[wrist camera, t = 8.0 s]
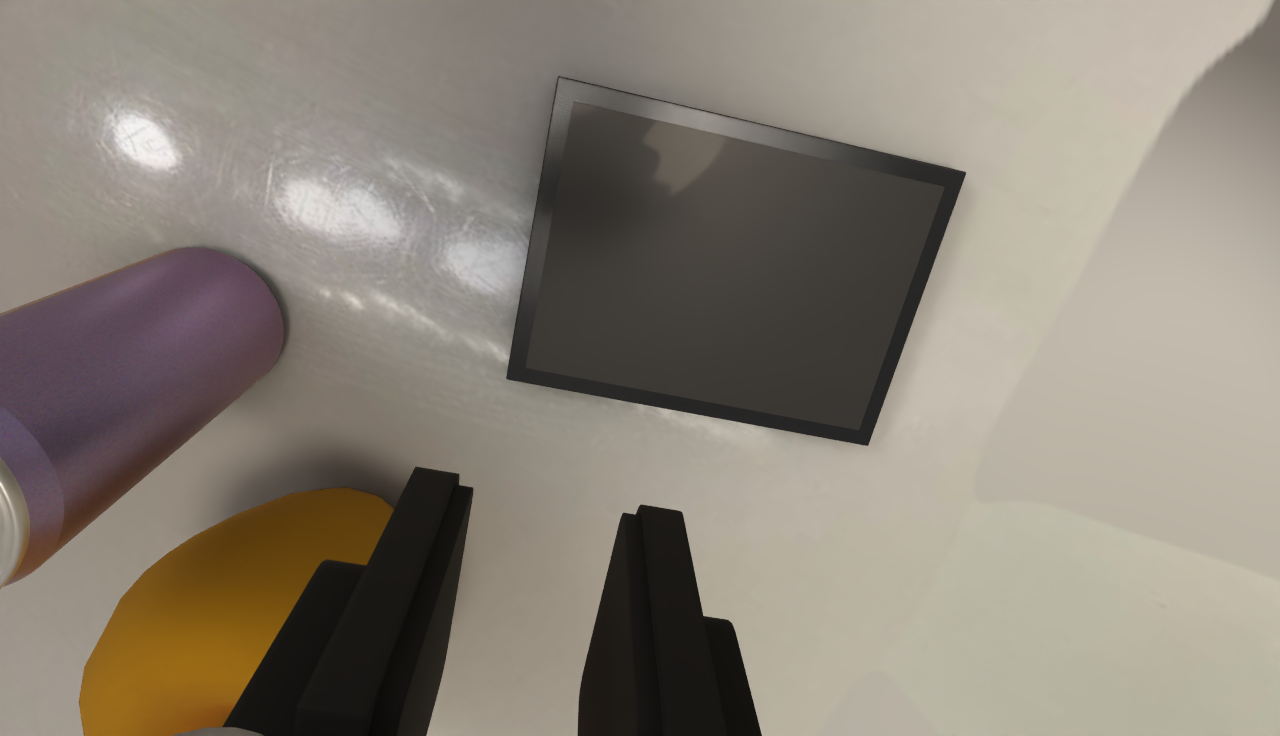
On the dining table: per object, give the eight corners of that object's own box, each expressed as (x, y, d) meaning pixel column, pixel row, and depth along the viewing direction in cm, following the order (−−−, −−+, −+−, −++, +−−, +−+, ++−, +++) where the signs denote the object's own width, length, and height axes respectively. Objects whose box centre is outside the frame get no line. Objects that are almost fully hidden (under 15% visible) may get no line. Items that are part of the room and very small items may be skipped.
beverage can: (266, 235, 29) (-41, 368, 15) (307, 375, 31) (70, 605, 17) (115, 253, 29) (-330, 405, 15) (166, 392, 31) (-184, 637, 17)
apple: (171, 499, 33) (-73, 734, 21) (380, 398, 32) (247, 586, 20) (314, 672, 37) (175, 955, 25) (506, 587, 36) (458, 842, 24)
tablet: (559, 76, 28) (557, 75, 27) (955, 169, 30) (968, 172, 29) (508, 371, 32) (505, 380, 31) (861, 436, 34) (868, 447, 33)
